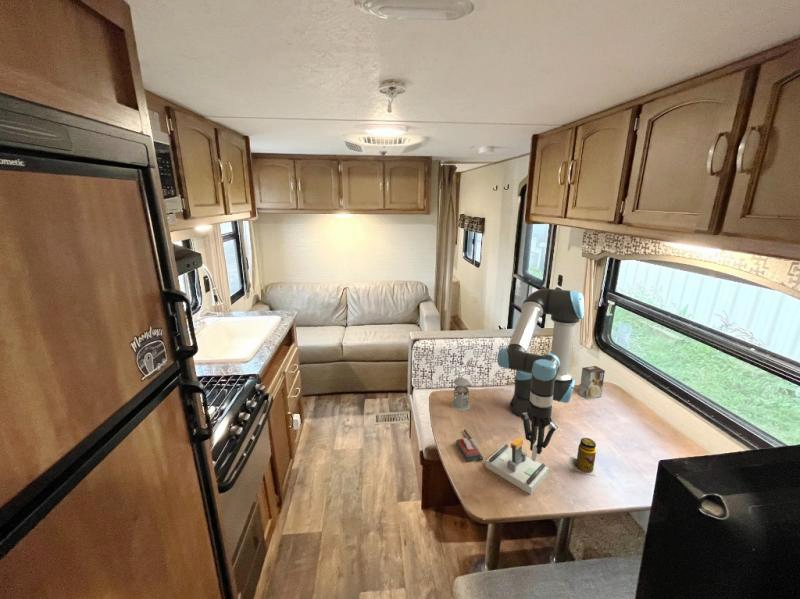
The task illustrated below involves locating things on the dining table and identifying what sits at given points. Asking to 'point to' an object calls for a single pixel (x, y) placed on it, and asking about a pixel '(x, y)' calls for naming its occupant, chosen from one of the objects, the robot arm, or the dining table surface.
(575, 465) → the condiment
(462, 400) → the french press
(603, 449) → the dining table surface
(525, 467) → the panel
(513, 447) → the lever
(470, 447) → the walkie-talkie
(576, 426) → the dining table surface
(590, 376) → the coffee box
